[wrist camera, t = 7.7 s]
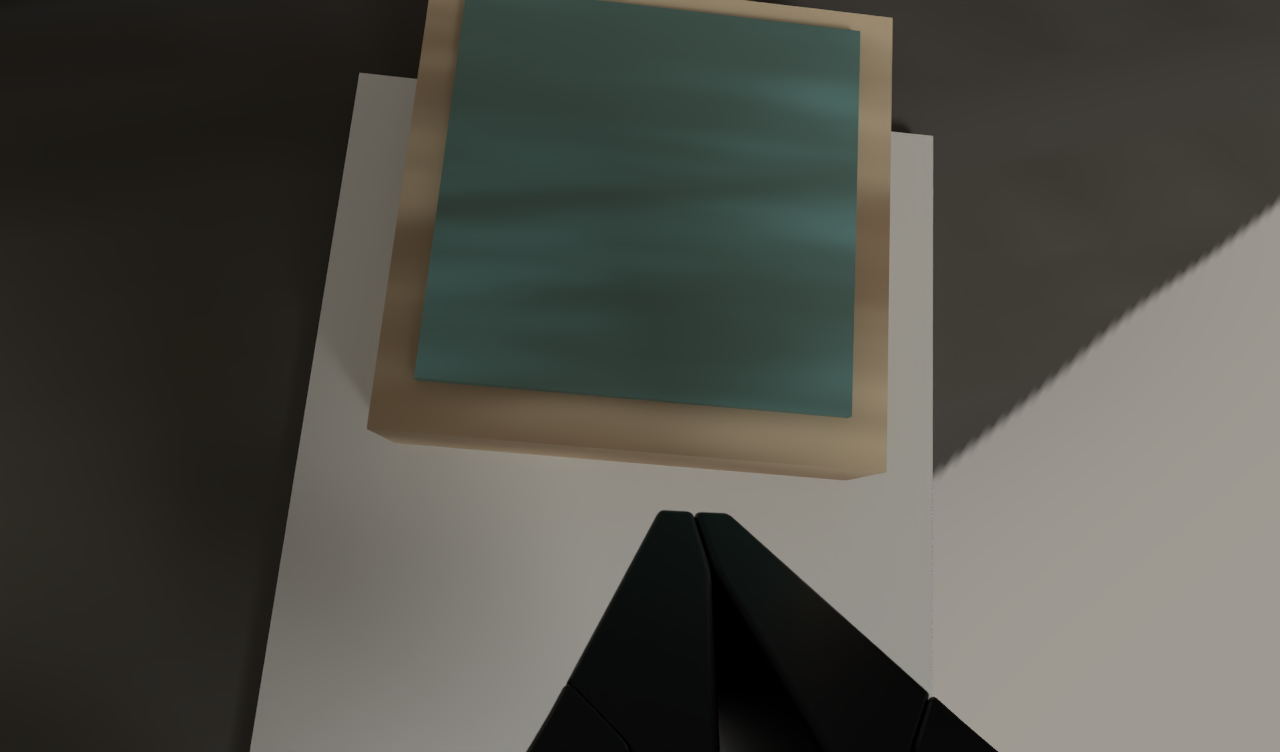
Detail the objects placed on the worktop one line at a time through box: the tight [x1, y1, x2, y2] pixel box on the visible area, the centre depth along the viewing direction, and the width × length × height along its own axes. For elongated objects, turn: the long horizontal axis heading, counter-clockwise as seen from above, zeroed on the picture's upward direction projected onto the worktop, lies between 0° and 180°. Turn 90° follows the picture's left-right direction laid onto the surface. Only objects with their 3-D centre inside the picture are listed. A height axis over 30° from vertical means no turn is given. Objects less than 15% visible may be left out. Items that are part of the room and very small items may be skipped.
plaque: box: [367, 0, 893, 480], centre depth 17 cm, size 3×10×10 cm
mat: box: [250, 73, 933, 752], centre depth 18 cm, size 19×14×1 cm
